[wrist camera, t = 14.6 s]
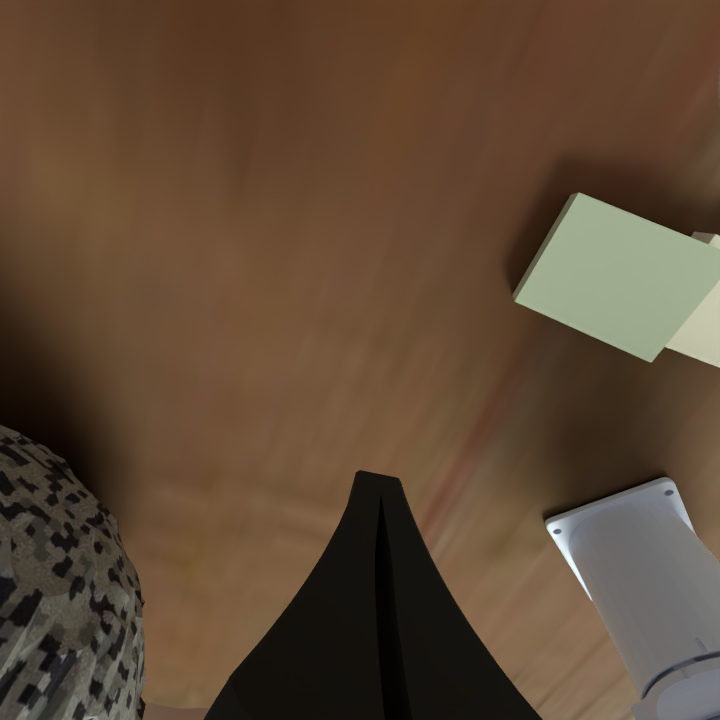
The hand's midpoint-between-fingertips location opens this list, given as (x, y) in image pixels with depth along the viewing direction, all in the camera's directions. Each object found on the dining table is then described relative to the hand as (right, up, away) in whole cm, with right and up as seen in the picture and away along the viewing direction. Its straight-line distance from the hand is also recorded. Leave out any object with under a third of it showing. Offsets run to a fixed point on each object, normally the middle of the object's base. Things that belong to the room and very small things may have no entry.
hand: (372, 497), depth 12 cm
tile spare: (+8, +9, +5) cm, 13 cm away
